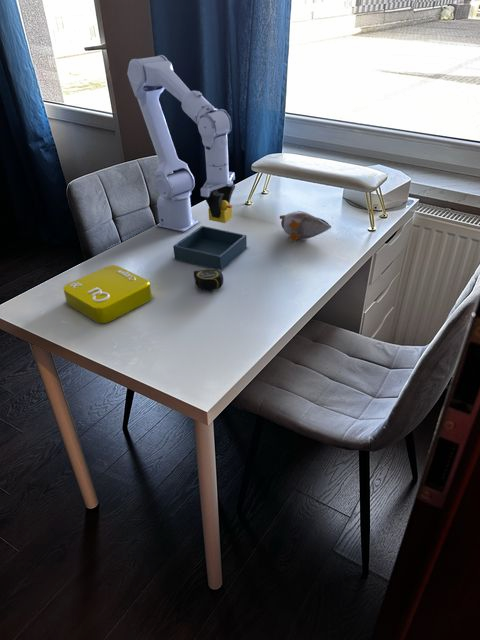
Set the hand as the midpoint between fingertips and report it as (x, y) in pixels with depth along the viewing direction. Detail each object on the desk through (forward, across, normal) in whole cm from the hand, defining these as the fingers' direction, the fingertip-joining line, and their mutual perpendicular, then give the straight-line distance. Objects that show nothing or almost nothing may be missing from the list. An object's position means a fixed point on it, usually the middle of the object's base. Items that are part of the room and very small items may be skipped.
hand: (220, 214), depth 136 cm
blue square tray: (+8, -7, -1) cm, 11 cm away
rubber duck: (+1, 0, 0) cm, 1 cm away
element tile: (+9, -38, +9) cm, 40 cm away
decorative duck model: (+9, +15, -19) cm, 26 cm away
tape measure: (+9, -22, -9) cm, 25 cm away
